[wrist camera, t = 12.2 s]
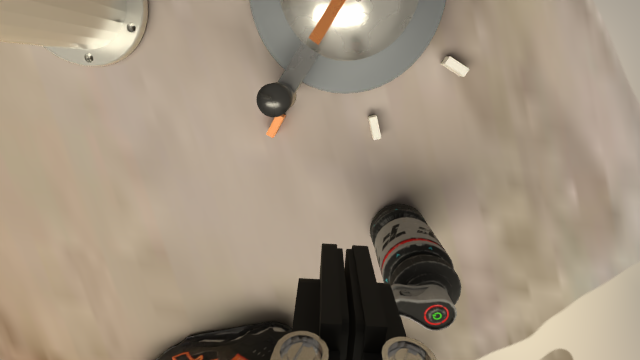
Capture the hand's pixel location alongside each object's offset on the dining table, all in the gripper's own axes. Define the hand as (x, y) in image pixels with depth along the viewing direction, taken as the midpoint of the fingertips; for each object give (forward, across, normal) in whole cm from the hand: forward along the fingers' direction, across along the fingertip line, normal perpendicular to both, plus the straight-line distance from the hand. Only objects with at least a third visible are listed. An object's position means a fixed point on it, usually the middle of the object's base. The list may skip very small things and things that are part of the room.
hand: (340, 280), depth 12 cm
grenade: (+25, -8, +10) cm, 28 cm away
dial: (+23, +1, -12) cm, 26 cm away
